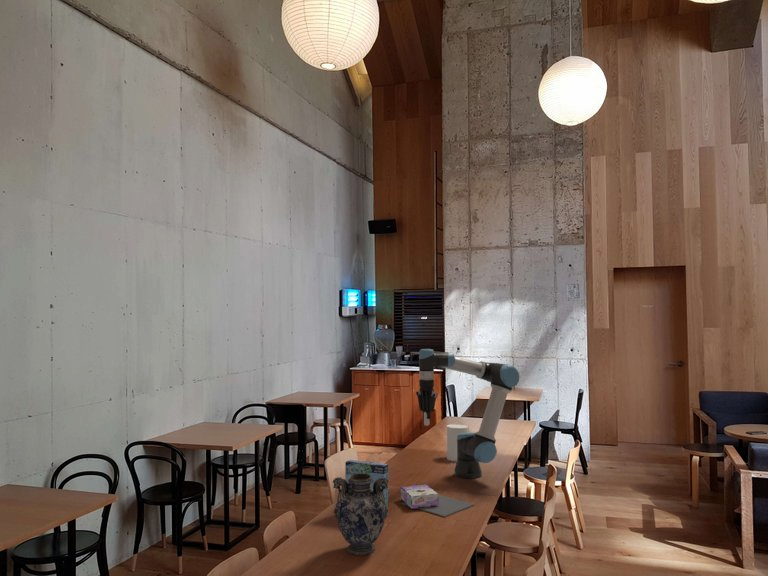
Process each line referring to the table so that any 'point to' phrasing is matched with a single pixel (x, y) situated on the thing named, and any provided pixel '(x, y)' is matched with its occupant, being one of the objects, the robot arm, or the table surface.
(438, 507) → the rubber mat
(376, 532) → the decorative vase
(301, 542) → the table surface
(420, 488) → the candy box
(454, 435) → the canister
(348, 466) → the blue cardboard box
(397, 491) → the table surface
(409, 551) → the table surface
